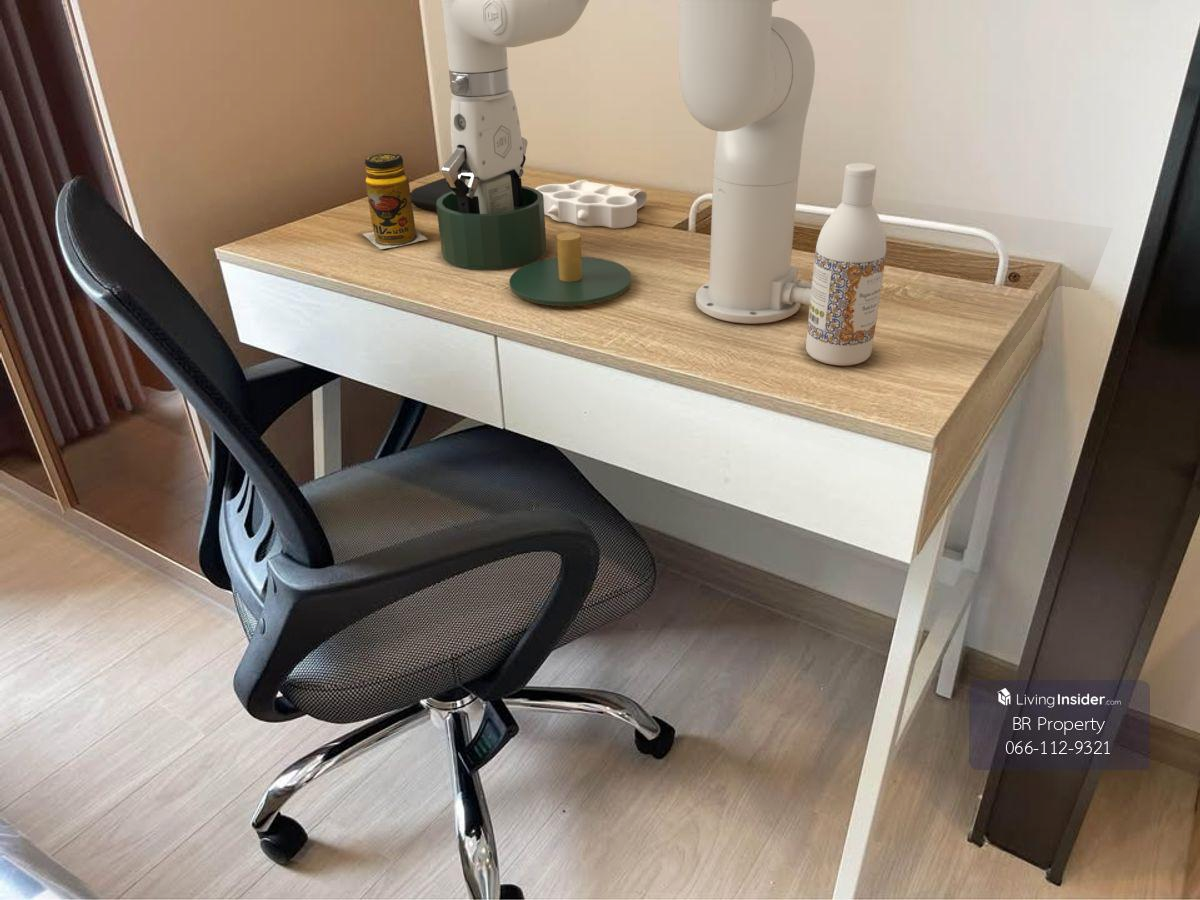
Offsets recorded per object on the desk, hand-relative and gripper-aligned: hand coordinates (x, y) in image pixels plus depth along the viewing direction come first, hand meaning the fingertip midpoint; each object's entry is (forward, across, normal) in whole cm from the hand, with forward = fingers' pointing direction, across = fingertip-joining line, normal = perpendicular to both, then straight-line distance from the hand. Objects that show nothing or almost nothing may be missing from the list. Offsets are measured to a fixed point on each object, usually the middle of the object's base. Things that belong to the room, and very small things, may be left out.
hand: (492, 214), depth 126 cm
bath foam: (+6, -9, -53) cm, 54 cm away
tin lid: (+5, -6, -17) cm, 18 cm away
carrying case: (+5, +17, +21) cm, 28 cm away
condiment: (+5, -2, +17) cm, 18 cm away
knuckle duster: (+6, +21, -3) cm, 22 cm away
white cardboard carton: (+5, 0, 0) cm, 5 cm away
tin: (+5, 0, 0) cm, 5 cm away
